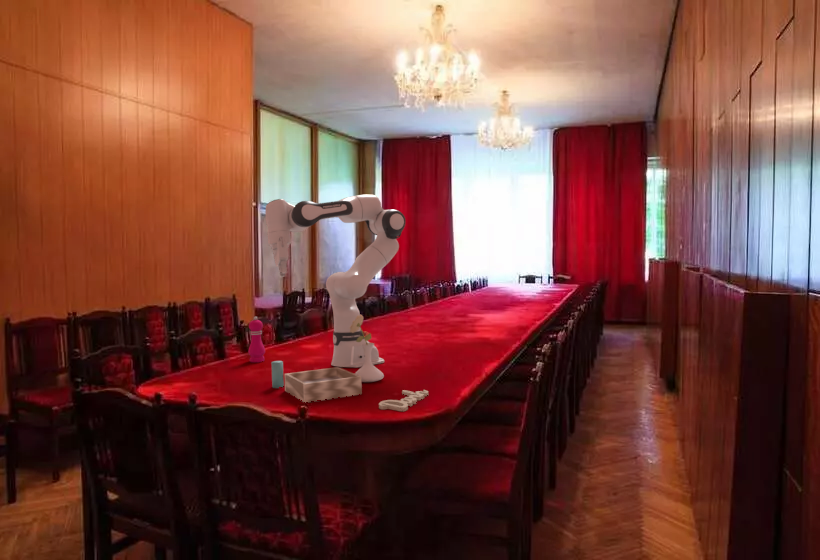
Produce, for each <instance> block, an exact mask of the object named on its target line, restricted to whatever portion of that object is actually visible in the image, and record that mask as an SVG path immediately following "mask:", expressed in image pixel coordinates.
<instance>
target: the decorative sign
mask: <svg viewBox="0 0 820 560" xmlns="http://www.w3.org/2000/svg"><path fill="white" fill-rule="evenodd" d="M401 394H402V395H403V394H404V395H403V396H405V395H407V396H405V397H404V398H401V399H400V400H398V399H387V400H386V399H385V400H382V401H380V402H379V403H378V409H379V410H393V411H397V412H406V411H408V410H409V407H408V406H410V407H412V406H413V405H416V404H417V403H418V401H422V400H423V399H425V397H428V396H429V391H428V390H426V389H423V390H420V391H419V390H418V391H415V392H414V391H410V390H407V389H406V390H405V389H404V390H403V389H402V391H401ZM427 395H428V396H427ZM421 399H422V400H421ZM416 402H417V403H416Z"/></svg>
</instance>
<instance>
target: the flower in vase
mask: <svg viewBox="0 0 820 560" xmlns="http://www.w3.org/2000/svg"><path fill="white" fill-rule="evenodd" d="M363 322H364V316H363V315H362V314H360V316H359V315H358V316H357V317H356V319H355V321H353V322H352V323H353V324H352V325H351V327H350V328H349V329H351V330H350V332H352V333H354V332H356V331H357V330H358V329H359V327H360V330H361V331H362V334H363V332H364V331H363V329H362V327H361V326H362V325H363ZM363 338H364V339H365V341H366V343H362V344H361V346H362V347H363V349H364V353H365V363H364V365H363V366H362V367H359V369H358V370H357V371H355V373H354V374H356V375H359V376H361V382H362V383H373V382H378V381H381V380H382V379H383V378H384V377H385V375H384V373H383V372H382V371H381V370H380V369H378V367H376V366H375V364H374V365H373V364H372V362H371V351H372V347H373V345H374V346H375V342H374V343H373V342H370V343H367V341H368V342H369V341H370V340H372V333H371V332H368V335H366V336H364V334H363V336H360V337H359V338H358V339H357V340H356V342H361V341H362V339H363Z"/></svg>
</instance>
